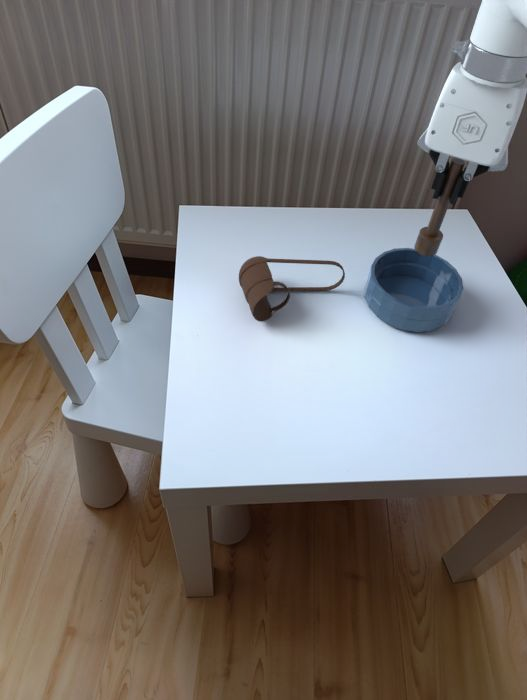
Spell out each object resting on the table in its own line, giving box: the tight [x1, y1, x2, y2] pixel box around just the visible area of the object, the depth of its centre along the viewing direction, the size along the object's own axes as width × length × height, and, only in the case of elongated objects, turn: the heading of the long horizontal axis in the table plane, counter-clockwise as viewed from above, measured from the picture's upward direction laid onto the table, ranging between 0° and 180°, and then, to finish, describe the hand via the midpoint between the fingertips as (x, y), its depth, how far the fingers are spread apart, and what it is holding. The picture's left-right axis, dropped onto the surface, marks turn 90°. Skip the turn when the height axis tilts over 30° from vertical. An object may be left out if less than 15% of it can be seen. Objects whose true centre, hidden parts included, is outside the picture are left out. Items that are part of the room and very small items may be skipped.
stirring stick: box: [413, 157, 466, 256], centre depth 79 cm, size 4×4×15 cm
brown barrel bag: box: [238, 255, 346, 322], centre depth 90 cm, size 18×12×7 cm, turn 104°
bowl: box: [364, 247, 464, 333], centre depth 91 cm, size 15×15×6 cm
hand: (445, 196), depth 77 cm, fingers closed on stirring stick
